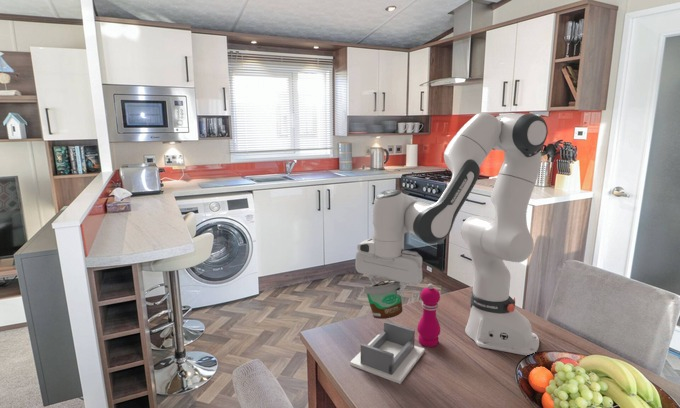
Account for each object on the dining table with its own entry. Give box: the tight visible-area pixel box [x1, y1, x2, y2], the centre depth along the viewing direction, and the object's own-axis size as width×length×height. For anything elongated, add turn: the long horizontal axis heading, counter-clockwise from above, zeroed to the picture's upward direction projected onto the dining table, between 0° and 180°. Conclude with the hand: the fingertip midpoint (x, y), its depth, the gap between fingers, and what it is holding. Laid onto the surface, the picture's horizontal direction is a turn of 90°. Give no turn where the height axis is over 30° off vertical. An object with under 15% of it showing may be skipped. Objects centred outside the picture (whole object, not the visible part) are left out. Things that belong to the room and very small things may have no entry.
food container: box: [363, 279, 403, 320], centre depth 114 cm, size 12×6×10 cm, turn 120°
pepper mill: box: [417, 283, 441, 348], centre depth 125 cm, size 7×7×20 cm
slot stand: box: [349, 321, 425, 385], centre depth 117 cm, size 16×18×7 cm
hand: (387, 291), depth 115 cm, fingers closed on food container, 7 cm apart
